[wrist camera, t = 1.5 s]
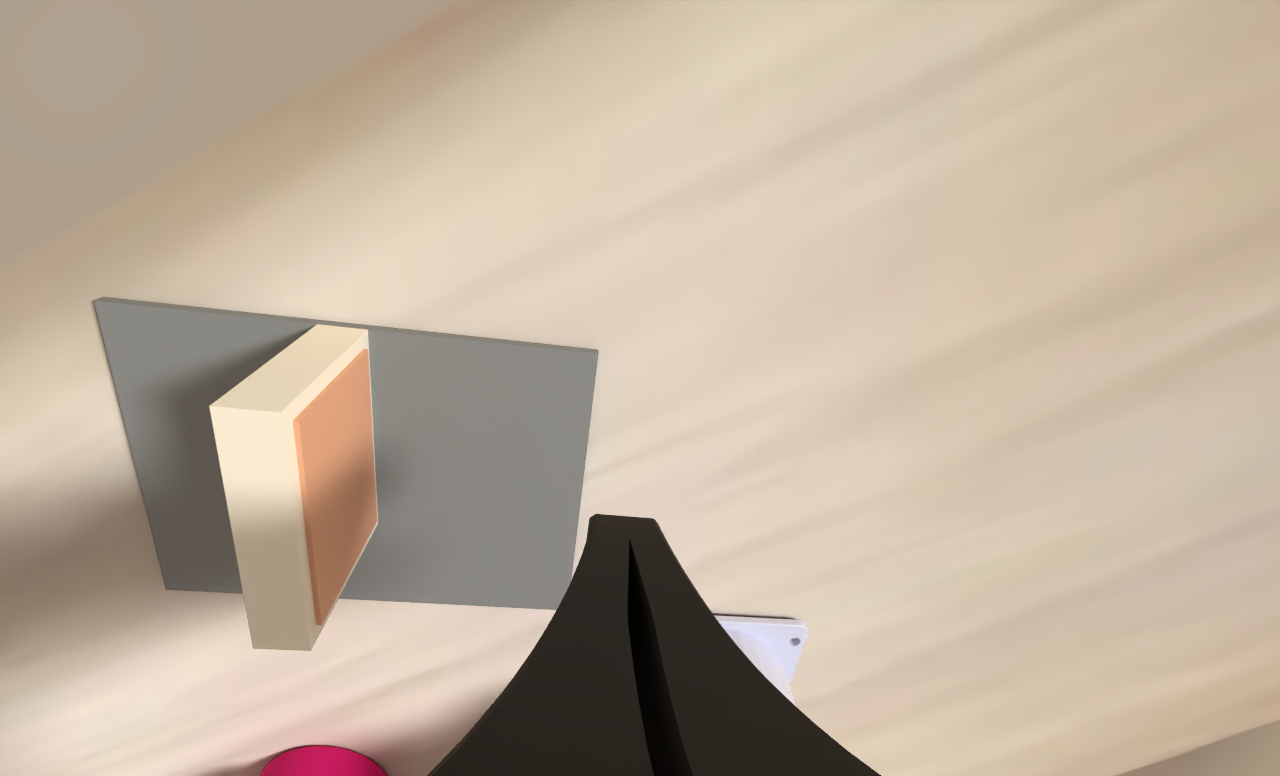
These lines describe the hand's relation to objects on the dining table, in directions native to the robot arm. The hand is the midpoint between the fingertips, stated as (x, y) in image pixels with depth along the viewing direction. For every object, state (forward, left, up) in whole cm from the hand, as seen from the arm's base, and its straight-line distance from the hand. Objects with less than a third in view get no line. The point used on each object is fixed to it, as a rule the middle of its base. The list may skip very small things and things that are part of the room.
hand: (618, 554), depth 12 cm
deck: (-3, +9, -10) cm, 13 cm away
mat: (-5, +9, -10) cm, 14 cm away
